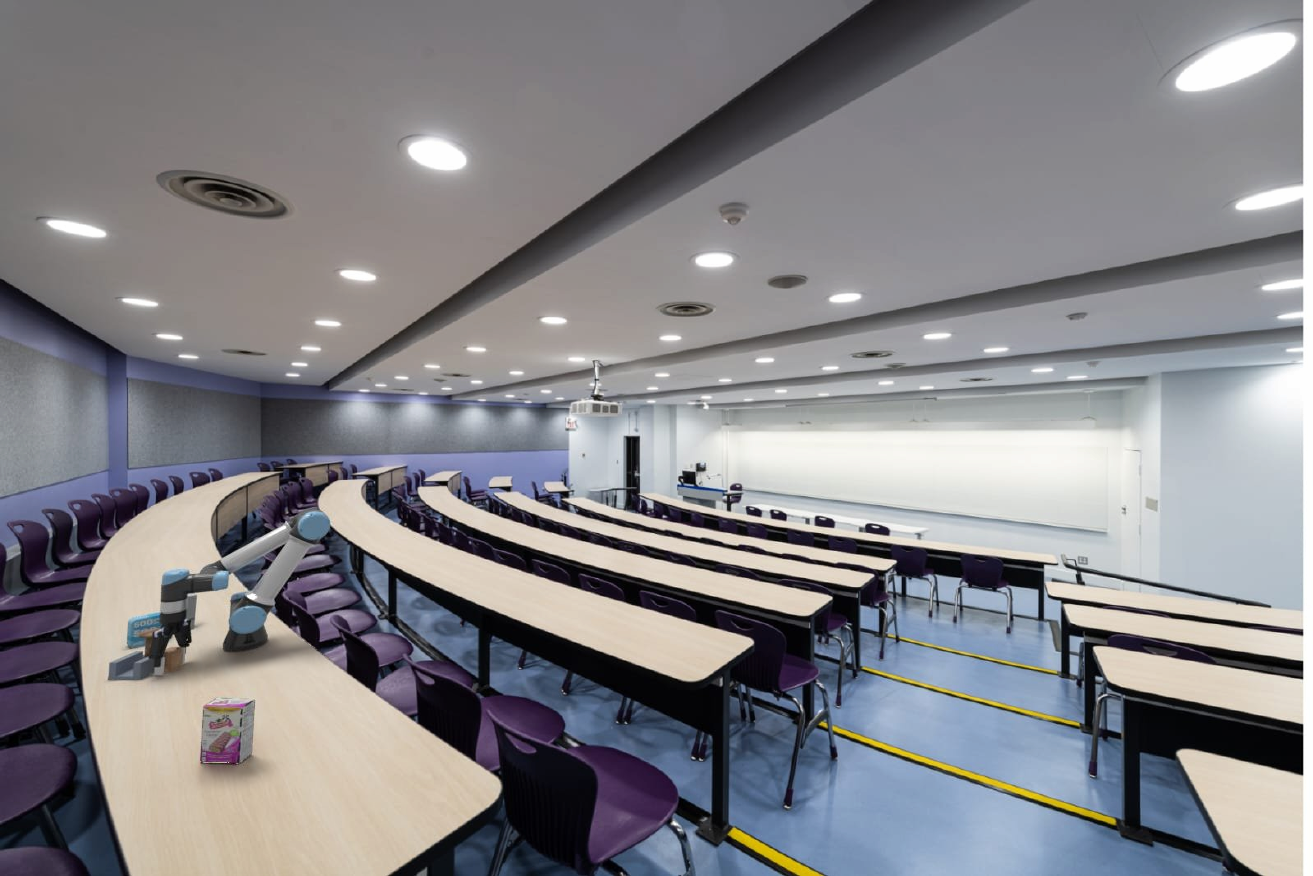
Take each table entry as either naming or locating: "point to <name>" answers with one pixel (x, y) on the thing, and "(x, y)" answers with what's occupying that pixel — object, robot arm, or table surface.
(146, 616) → the data package
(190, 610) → the skincare box
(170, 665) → the tab
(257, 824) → the table surface
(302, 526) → the robot arm
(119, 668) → the notch board
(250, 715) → the candy bar box
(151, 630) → the door knob
